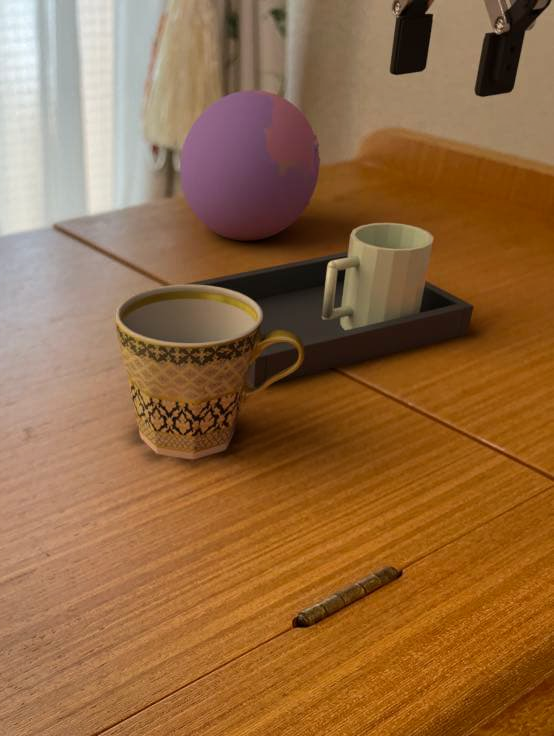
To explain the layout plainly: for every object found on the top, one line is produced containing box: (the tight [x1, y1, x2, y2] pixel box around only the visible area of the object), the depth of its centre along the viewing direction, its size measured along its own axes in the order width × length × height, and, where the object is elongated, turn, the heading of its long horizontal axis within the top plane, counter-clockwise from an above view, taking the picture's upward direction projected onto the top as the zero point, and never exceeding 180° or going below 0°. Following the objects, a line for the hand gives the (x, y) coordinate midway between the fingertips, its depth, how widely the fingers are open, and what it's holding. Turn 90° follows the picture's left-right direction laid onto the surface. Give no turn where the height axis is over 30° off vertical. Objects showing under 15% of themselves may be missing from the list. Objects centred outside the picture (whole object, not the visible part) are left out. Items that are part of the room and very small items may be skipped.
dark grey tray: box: [181, 251, 475, 388], centre depth 79 cm, size 22×16×3 cm
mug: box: [322, 222, 435, 330], centre depth 76 cm, size 10×7×8 cm
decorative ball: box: [179, 89, 321, 242], centre depth 94 cm, size 15×15×15 cm
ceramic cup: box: [114, 283, 305, 460], centre depth 61 cm, size 13×10×10 cm
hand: (448, 82), depth 67 cm, fingers open, 9 cm apart
